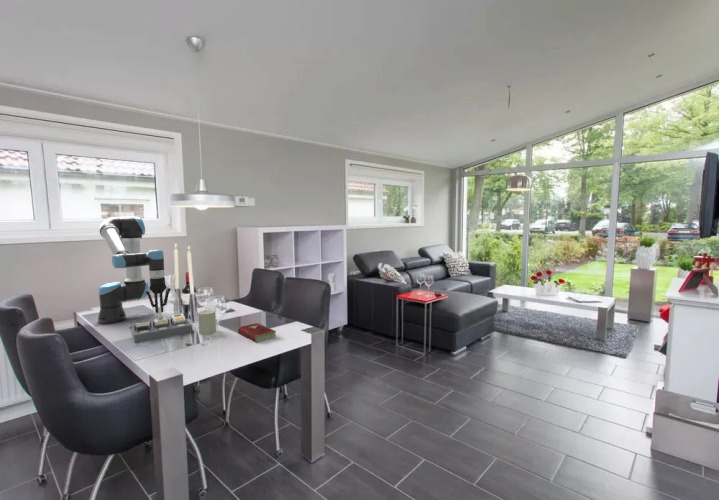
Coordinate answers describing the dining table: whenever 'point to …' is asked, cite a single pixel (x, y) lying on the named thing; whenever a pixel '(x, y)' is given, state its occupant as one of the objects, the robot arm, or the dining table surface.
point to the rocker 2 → (178, 318)
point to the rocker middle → (160, 321)
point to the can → (207, 322)
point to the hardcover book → (256, 332)
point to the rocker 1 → (143, 324)
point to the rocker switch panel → (160, 330)
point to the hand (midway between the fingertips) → (159, 318)
